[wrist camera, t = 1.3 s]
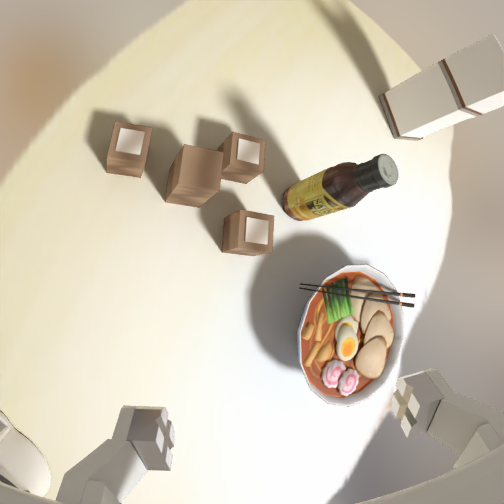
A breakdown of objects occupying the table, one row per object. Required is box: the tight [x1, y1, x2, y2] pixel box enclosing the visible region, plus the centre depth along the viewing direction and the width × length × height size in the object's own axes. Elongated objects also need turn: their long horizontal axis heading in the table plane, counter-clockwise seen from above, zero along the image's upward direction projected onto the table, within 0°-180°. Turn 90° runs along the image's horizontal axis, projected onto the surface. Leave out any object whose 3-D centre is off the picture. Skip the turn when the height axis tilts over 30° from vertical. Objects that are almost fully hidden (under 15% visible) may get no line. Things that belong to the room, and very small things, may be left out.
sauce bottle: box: [283, 154, 398, 221], centre depth 44 cm, size 7×6×20 cm
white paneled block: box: [222, 210, 274, 256], centre depth 45 cm, size 5×5×6 cm
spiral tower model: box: [379, 34, 504, 141], centre depth 54 cm, size 11×11×35 cm
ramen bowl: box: [297, 264, 415, 407], centre depth 50 cm, size 25×23×8 cm
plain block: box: [165, 144, 224, 207], centre depth 41 cm, size 5×5×9 cm
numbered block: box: [107, 122, 152, 178], centre depth 39 cm, size 5×5×6 cm
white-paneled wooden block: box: [218, 132, 265, 184], centre depth 46 cm, size 5×5×6 cm
